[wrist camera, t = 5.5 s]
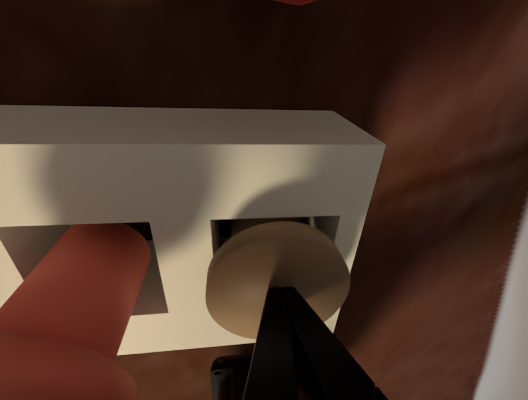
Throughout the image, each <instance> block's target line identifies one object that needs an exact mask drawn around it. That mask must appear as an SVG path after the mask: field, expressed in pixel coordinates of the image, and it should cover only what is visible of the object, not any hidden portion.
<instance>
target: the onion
mask: <svg viewBox="0 0 528 400" xmlns="http://www.w3.org/2000/svg"><path fill="white" fill-rule="evenodd" d="M275 1H279V2H284V3H288V4H293V5H297V6H300V5H304V4H307V3H310V2H314V1H317V0H275Z"/></svg>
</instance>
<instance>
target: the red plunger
mask: <svg viewBox="0 0 528 400" xmlns="http://www.w3.org/2000/svg"><path fill="white" fill-rule="evenodd" d="M150 259H151V251H150V248H149V245H148V243H147V241H146V240H145V238H144V237H143V236H142V235H141V234H140V233H139V232H138V231H136V230H135V229H133V228H132V227H130V226H128V225H126V224H124V223H100V224H74V225H72V226H71V227H70V228H69V229H68V230H67V231H66V232H65V233H64V234H63V235H62V237H61V238H60V239H59V240H58V241H57V242H56V244H55V245H54V246H53V247H52V248H51V249H50V251H49V252H48V253H47V254H46V255H45V256H44V258H43V259H42V260H41V261H40V262H39V263H38V265H37V266H36V267H35V268H34V269H33V270H32V272H31V273H30V274H29V275H28V276H27V277H26V279H25V280H24V281H23V282H22V283H21V284H20V286H19V287H18V288H17V289H16V290H15V291H14V293H13V294H12V295H11V296H10V297H9V298H8V300H7V301H6V302H5V303H4V304H3V305H2V307H1V308H0V400H138V390H137V386H136V384H135V382H134V380H133V378H132V377H131V376H130V374H129V373H128V372H127V371H126V370H125V369H124V368H123V367H122V366H120V365H119V364H118V363H116V362H115V359H116V356H117V353H118V350H119V348H120V345H121V342H122V339H123V336H124V333H125V331H126V328H127V325H128V322H129V319H130V316H131V314H132V311H133V308H134V305H135V302H136V299H137V297H138V294H139V291H140V288H141V285H142V282H143V280H144V277H145V274H146V271H147V268H148V265H149V263H150Z"/></svg>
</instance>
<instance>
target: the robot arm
mask: <svg viewBox="0 0 528 400" xmlns="http://www.w3.org/2000/svg"><path fill="white" fill-rule="evenodd" d="M211 383H212V392H213V400H388V399H387V398H386V396H385V395H384V394H383V393H382V391H381V390H380V389H379V388H378V387H375V383H374V382H373V381H372V380H371V378H370V377H369V376H368V375H367V374H366V372H365V371H364V370H363V369H362V368H361V366H360V365H359V364H358V363H357V362H356V360H355V359H354V358H353V357H352V356H351V354H350V353H349V352H348V351H347V350H346V348H345V347H344V346H343V345H342V344H341V342H340V341H339V340H338V339H337V338H336V336H335V335H334V334H333V333H332V332H331V330H330V329H329V328H328V327H327V326H326V324H325V323H324V322H323V321H322V320H321V318H320V317H319V316H318V315H317V313H316V312H315V311H314V310H313V309H312V307H311V306H310V305H309V304H308V303H307V301H306V300H305V299H304V298H303V297H302V295H301V294H300V293H299V292H298V291H297V289H296V288H295V287H293V286H287V287H282V288H280V287H272V288H268V290H267V294H266V298H265V303H264V307H263V311H262V316H261V320H260V325H259V329H258V333H257V338H256V342H255V347H254V351H253V355H252V360H251V361H242V362H232V363H222V364H215V365H213V366H212V367H211Z"/></svg>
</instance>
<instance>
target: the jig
mask: <svg viewBox="0 0 528 400" xmlns="http://www.w3.org/2000/svg"><path fill="white" fill-rule="evenodd" d="M385 146H386V144H384V143H383V142H381V141H379V140H378V139H376V138H375V137H373V136H372V135H370V134H368V133H367V132H365V131H364V130H362V129H361V128H359V127H357V126H356V125H354V124H353V123H351V122H350V121H348V120H346V119H345V118H343V117H342V116H340V115H339V114H337V113H335V112H334V111H317V110H260V109H202V108H145V107H87V106H30V105H0V308H1V307H2V305H3V304H4V303H5V302H6V301H7V300H8V298H9V297H10V296H11V295H12V294H13V293H14V291H15V290H16V289H17V288H18V287H19V286H20V284H21V283H22V282H23V281H24V280H25V279H26V277H27V276H28V275H29V274H30V273H31V272H32V270H33V269H34V268H35V267H36V266H37V265H38V263H39V262H40V261H41V260H42V259H43V258H44V256H45V255H46V254H47V253H48V252H49V251H50V249H51V248H52V247H53V246H54V245H55V244H56V242H57V241H58V240H59V239H60V238H61V237H62V235H63V234H64V233H65V232H66V231H67V230H68V229H69V228H70V227H71V226H72V225H74V224H100V223H130V222H149V223H150V228H151V232H152V237H153V240H146V241H147V243H148V245H149V248H150V251H151V259H150V263H149V265H148V268H147V271H146V274H145V277H144V280H143V282H142V285H141V288H140V291H139V294H138V297H137V299H136V302H135V305H134V308H133V311H132V314H131V316H130V319H129V322H128V325H127V328H126V331H125V333H124V336H123V339H122V342H121V345H120V348H119V350H118V353H117V355H126V354H137V353H148V352H159V351H170V350H181V349H192V348H203V347H213V346H224V345H235V344H246V343H255V342H256V339H250V338H245V337H241V336H238V335H235V334H233V333H231V332H229V331H227V330H225V329H224V328H222V327H221V326H220V325H218V324H217V323H216V322H215V321H214V319H213V318H212V317H211V315H210V314H209V311H208V309H207V306H206V297H205V294H206V282H207V273H208V267H209V265H210V262H211V260H212V258H213V256H214V255H215V253H216V252H217V251H218V249H219V248H220V247H221V246H222V245H223V244H224V243H225V242H226V241H227V240H229V239H230V238H231V237H219V220H220V219H250V218H280V217H299V219H300V222H301V223H303V224H307V225H310V226H312V227H315V228H317V229H319V230H320V231H322V232H324V233H325V234H326V235H327V236H329V237H330V238H331V239H332V241H333V242H334V243H335V245H336V246H337V248H338V250H339V252H340V253H341V255H342V257H343V259H344V261H345V263H346V265H347V267H348V269H349V273H350V272H351V268H352V264H353V261H354V257H355V254H356V250H357V247H358V243H359V239H360V236H361V232H362V229H363V225H364V221H365V218H366V214H367V211H368V207H369V204H370V200H371V196H372V193H373V189H374V186H375V182H376V179H377V175H378V171H379V168H380V164H381V161H382V157H383V153H384V150H385ZM339 311H340V308H339V309H338V310H337V312H336V313H335V314H334V315H332V316H331V317H330V318H329V319H328V320H326V321H325V322H324V323H325V324H326V326H327V327H328V328H329V329H330V330H331V332H332V333H333V332H334V329H335V325H336V322H337V318H338V315H339Z"/></svg>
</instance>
